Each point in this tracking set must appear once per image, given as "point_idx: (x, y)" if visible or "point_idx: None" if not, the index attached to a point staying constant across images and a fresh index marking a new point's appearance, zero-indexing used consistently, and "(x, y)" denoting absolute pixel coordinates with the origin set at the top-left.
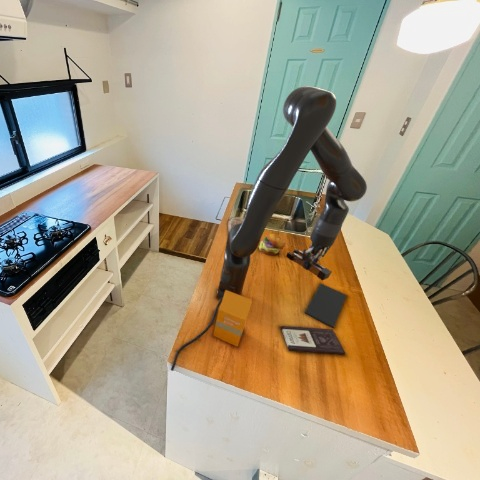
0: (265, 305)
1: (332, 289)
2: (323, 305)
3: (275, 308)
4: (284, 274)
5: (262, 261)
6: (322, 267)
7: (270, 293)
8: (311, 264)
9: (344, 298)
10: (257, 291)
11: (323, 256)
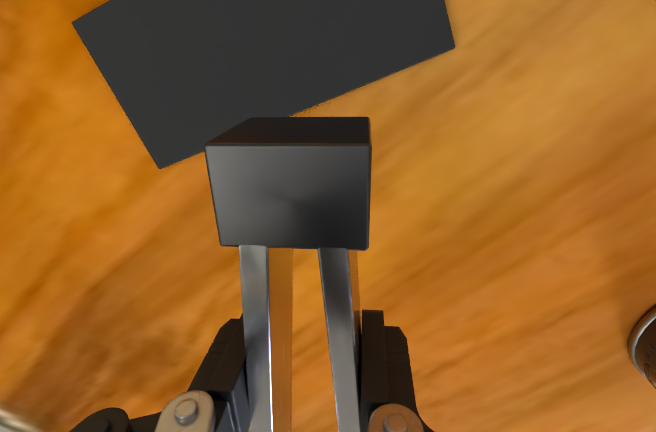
0: (601, 202)
1: (126, 101)
2: (293, 30)
3: (574, 159)
4: (294, 300)
5: (324, 396)
6: (266, 272)
7: (487, 247)
8: (356, 370)
9: (107, 7)
10: (536, 287)
11: (106, 421)
